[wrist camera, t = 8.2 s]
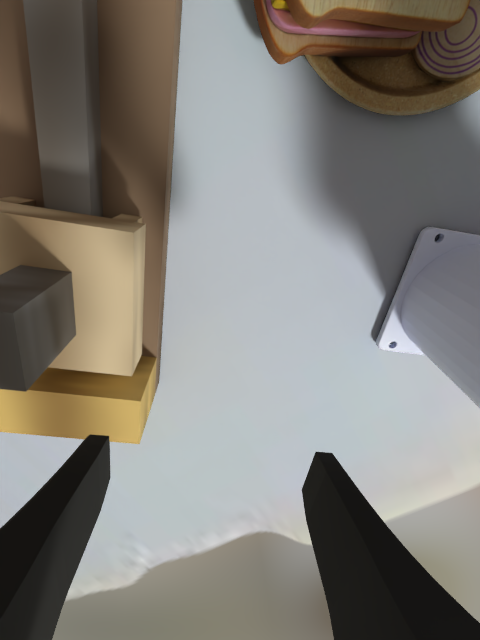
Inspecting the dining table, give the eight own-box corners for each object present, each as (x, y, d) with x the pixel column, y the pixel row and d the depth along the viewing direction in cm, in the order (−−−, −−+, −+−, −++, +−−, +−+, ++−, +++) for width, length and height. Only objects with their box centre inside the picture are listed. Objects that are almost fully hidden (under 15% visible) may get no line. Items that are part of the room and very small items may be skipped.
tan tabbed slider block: (152, 218, 16) (96, 260, 9) (148, 340, 19) (103, 440, 12) (1, 194, 15) (-183, 221, 8) (22, 325, 18) (-100, 422, 11)
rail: (202, -327, 10) (176, -797, 5) (159, 381, 22) (139, 443, 17) (-72, -419, 9) (-413, -1077, 4) (38, 368, 21) (-18, 430, 17)
